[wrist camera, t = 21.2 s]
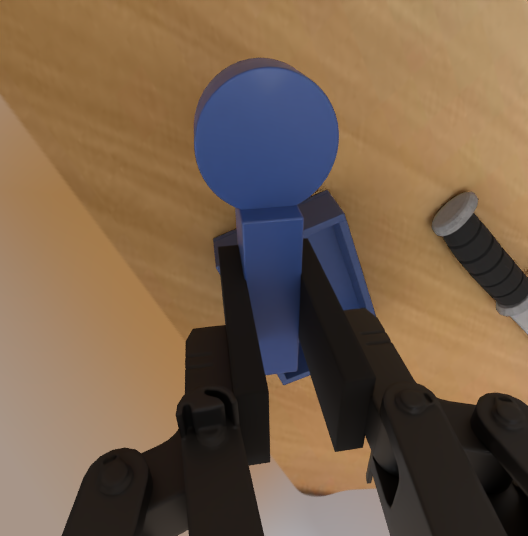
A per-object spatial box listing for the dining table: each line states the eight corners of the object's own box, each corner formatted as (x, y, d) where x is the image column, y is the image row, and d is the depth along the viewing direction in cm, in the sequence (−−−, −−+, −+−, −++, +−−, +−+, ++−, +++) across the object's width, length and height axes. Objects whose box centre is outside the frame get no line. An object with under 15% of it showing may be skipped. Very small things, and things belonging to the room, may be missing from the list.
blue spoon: (310, 322, 17) (326, 368, 15) (216, 333, 17) (220, 381, 15) (326, 55, 12) (356, 68, 10) (186, 60, 11) (184, 75, 9)
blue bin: (212, 238, 28) (215, 267, 25) (327, 189, 27) (344, 213, 24) (275, 352, 35) (283, 385, 32) (367, 315, 34) (385, 346, 31)
